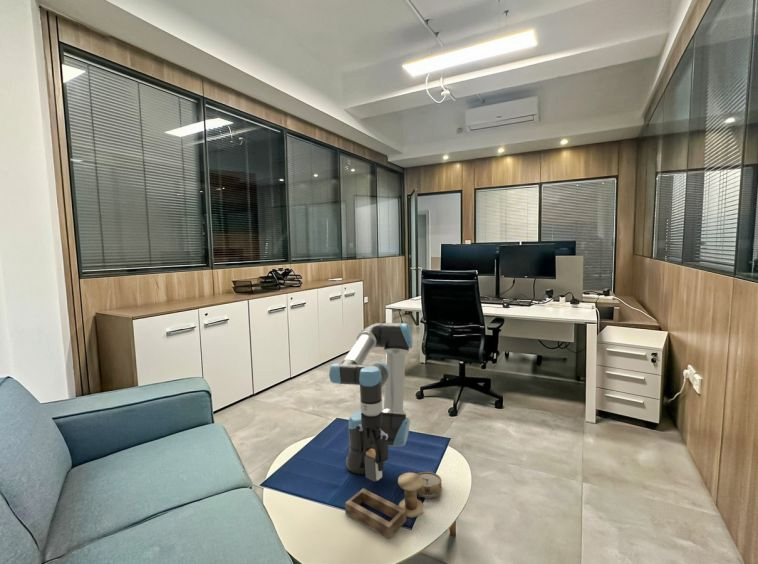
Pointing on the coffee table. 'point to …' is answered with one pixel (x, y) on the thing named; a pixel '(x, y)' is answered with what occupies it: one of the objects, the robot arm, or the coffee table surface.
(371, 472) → the grey upright block
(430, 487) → the alarm clock
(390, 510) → the open rectangular wooden frame
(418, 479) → the bobbin
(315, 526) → the coffee table surface
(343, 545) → the coffee table surface
